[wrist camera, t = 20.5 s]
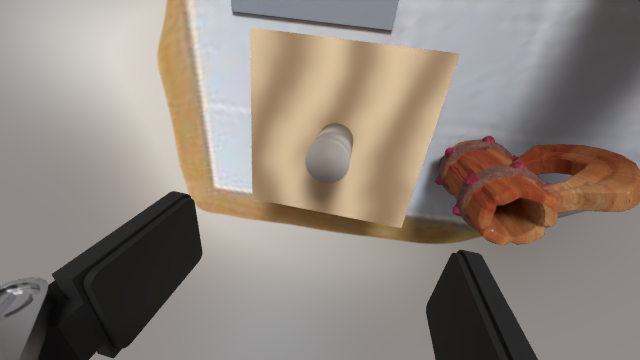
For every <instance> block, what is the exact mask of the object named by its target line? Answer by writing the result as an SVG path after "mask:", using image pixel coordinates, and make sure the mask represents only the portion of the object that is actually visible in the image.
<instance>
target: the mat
mask: <svg viewBox="0 0 640 360" xmlns="http://www.w3.org/2000/svg"><path fill="white" fill-rule="evenodd" d="M398 1H399V0H231V6H232V11H233V12H241V13H249V14H258V15H266V16H274V17H283V18H291V19H300V20H308V21H316V22H325V23H333V24H342V25H350V26H358V27H367V28H375V29H384V30H392V29H393V24H394V20H395V15H396V10H397V6H398Z"/></svg>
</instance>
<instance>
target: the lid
mask: <svg viewBox="0 0 640 360" xmlns="http://www.w3.org/2000/svg"><path fill="white" fill-rule="evenodd" d="M250 42H251V115H252V188H253V199H257V200H262V201H267V202H273V203H278V204H283V205H288V206H293V207H298V208H303V209H308V210H313V211H318V212H323V213H328V214H333V215H338V216H343V217H349V218H354V219H359V220H364V221H369V222H374V223H379V224H384V225H389V226H394V227H399V228H401V227H402V224H403V221H404V218H405V215H406V212H407V209H408V207H409V204H410V201H411V198H412V195H413V192H414V189H415V186H416V183H417V180H418V177H419V174H420V171H421V168H422V165H423V162H424V159H425V156H426V153H427V150H428V147H429V144H430V141H431V138H432V135H433V133H434V130H435V127H436V124H437V121H438V118H439V115H440V112H441V109H442V106H443V103H444V100H445V97H446V94H447V91H448V88H449V85H450V82H451V79H452V76H453V73H454V70H455V67H456V64H457V62H458V59H459V56H460V54H457V53H449V52H441V51H433V50H425V49H417V48H409V47H401V46H393V45H385V44H377V43H369V42H361V41H353V40H345V39H337V38H329V37H321V36H313V35H305V34H297V33H289V32H282V31H274V30H266V29H258V28H250Z"/></svg>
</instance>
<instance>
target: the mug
mask: <svg viewBox="0 0 640 360" xmlns="http://www.w3.org/2000/svg"><path fill="white" fill-rule="evenodd" d="M542 173H561V174H570V175H573V176H572V177H571V178H570V179H569V180H567V181H565V182H561V183H556V184H549V183H546V182H544V181H543V180H542V179H541V178H540V177H538V176H537V175H538V174H542ZM436 183H437V184H438V185H443V187H444V188H445V189H446V190H447V191H448V192H449V193H450V194H452V195H454V196H455V197H456V199H457V202H456V203H457V204H456V205H455V207H454V208H453V213H454V214H455V215H458V216H462V218H463V219H464V221H465V222H466V223H467V224H468V225H470V226H471V227H473V228H475V229H477V230H478V231H479V232H480V234H481V235H482V236H483V237H484V238H485V239H486V240H488V241H490V242H492V243H495V244H499V245H506V244H508V243H510V242H512V243H515V244H517V245H518V244H527V243H530V242H532V241H535V240H537V239H540V238H541V237H542V236H543V235H544V234H545V228H547V227H552V226H554V225H555V223H556V221H557V219H558V213H563V212H568V211H576V210H586V211H604V212H621V211H625V210H629V209H631V208H633V207H635V206H637V205H638V204H639V202H640V170H639V168H638V167H637V165H636V164H635V163H634V162H632V161H631V160H629V159H627V158H626V157H624V156H622V155H620V154H617V153H614V152H611V151H608V150H604V149H600V148H595V147H589V146H584V145H566V144H558V145H538V146H535V147H533V148H532V149H530V150H529V151H528V152H526V153H525V154H524V155H522V156H521V157H519V158H518V157H516V156H514V155H513V156H512V155H511V154H510V153H509V152H508V151H507V150H506V149H505V148H504V147H503V146H501V145H500V144H498V143H496V142H495V140H494V138H493V137H491V136H487V137H485V138H483V139H482V140H471V141H464V142H461V143H458V144H457V145H455V146H453V147H452V148H448V149H447V150H446V151H445V155H444V157H443V159H442V161H441V163H440V172H439V176H438V177H437V178H436Z"/></svg>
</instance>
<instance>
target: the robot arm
mask: <svg viewBox="0 0 640 360" xmlns="http://www.w3.org/2000/svg"><path fill="white" fill-rule="evenodd" d="M201 256H202V247H201V240H200V234H199V228H198V221H197V215H196V209H195V203H194V200H193V199H191V196H190V195H188V194H184V193H180V192H175V191H173V192H170V193H168V194H167V195H166V196H164V197H163V198H161V199H160V200H158V201H157V202H155V203H154V204H153V205H151V206H150V207H148V208H147V209H145V210H144V211H142V212H141V213H139V214H138V215H137V216H135V217H134V218H132V219H131V220H129V221H128V222H126V223H125V224H124V225H122V226H121V227H119V228H118V229H116V230H115V231H114V232H112V233H111V234H110V235H108V236H106V237H105V238H103V239H102V240H101V241H99V242H98V243H96V244H95V245H93V246H92V247H90V248H89V249H88V250H86V251H85V252H83V253H82V254H80V255H79V256H77V257H76V258H75V259H73V260H72V261H70V262H69V263H67V264H66V265H64V266H63V267H62V268H60V269H59V270H57V271H56V272H54V273H53V274H52V276H53V277H54V279H55V281H54V282H52V283H51V284H50V285H48V283H47V281H46V280H44V279H42V278H34V277H30V278H23V279H18V280H15V281H11V282H8V283H5V284H3V285H1V286H0V360H89V359H90V358H91V357H92V356H93V355H94V354H95V352H96V351H97V353H98V354H101V355H104V356H107V357H111V358H115V356H116V355H117V354H118V353H119V352H120V350H121V349H122V348H126V347H127V346H129V345H130V344H131V343H132V342H133V340H134V339H135V338H136V337H137V335H138V334H139V333H140V332H141V331H142V329H143V328H144V327H145V326H146V325H147V323H148V322H149V321H150V320H151V318H152V317H153V316H154V315H155V314H156V313H157V311H158V310H159V309H160V308H161V307H162V305H163V304H164V303H165V302H166V300H167V299H168V298H169V297H170V296H171V294H172V293H173V292H174V291H175V290H176V288H177V287H178V286H179V285H180V284H181V282H182V281H183V280H184V279H185V278H186V276H187V275H188V274H189V273H190V272H191V270H192V269H193V268H194V267H195V266H196V264H197V263H198V262H199V261H200V259H201ZM426 314H427V319H428V325H429V329H430V334H431V339H432V344H433V349H434V353H435V359H436V360H538V359H537V357H536V355H535V353H534V351H533V350H532V348H531V346H530V344H529V342H528V340H527V339H526V337H525V335H524V333H523V331H522V329H521V327H520V326H519V324H518V322H517V320H516V318H515V316H514V314H513V313H512V310H511V309H510V307H509V306H508V304H507V302H506V300H505V298H504V296H503V294H502V293H501V291H500V289H499V287H498V285H497V283H496V281H495V280H494V278H493V276H492V274H491V273H490V270H489V268H488V266H487V265H486V263H485V261H484V259H483V257H482V256H481V255H480V254H479V253H474V252H469V251H465V250H459V251H458V252H457V253H452V254H451V256H450V258H449V260H448V262H447V264H446V266H445V269H444V270H443V272H442V275H441V276H440V279H439V281H438V283H437V285H436V287H435V289H434V291H433V293H432V295H431V297H430V299H429V301H428V303H427V307H426Z"/></svg>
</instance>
